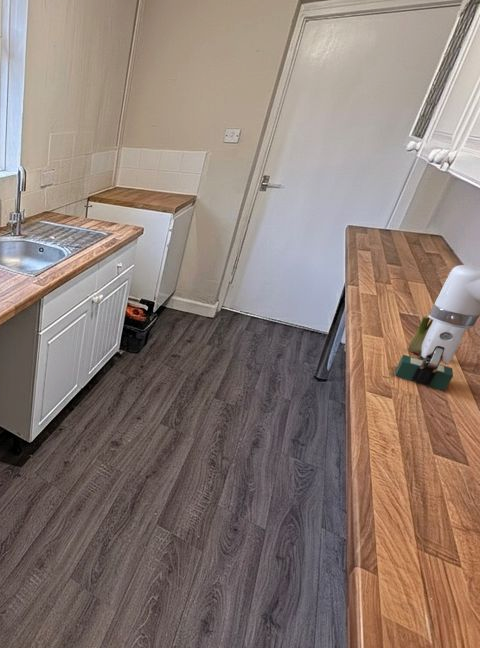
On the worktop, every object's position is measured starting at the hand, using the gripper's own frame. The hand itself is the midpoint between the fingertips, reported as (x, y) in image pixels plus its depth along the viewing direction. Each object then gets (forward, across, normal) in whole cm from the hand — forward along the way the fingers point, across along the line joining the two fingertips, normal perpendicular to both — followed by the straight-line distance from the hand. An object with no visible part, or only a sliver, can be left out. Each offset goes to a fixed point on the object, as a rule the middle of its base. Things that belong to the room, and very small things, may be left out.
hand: (420, 377), depth 107 cm
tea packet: (+1, 0, 0) cm, 1 cm away
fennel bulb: (+1, +18, 0) cm, 18 cm away
